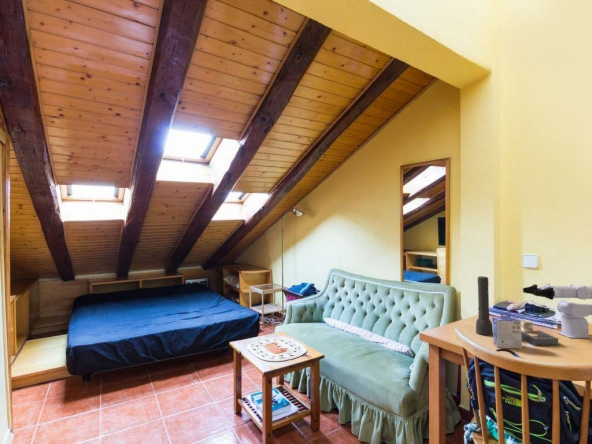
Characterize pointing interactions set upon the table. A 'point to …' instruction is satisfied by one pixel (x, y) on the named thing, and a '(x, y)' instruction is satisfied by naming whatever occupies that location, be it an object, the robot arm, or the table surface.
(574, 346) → the table surface
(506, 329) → the ink cartridge box
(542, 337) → the cradle
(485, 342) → the table surface
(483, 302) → the flashlight
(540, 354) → the table surface
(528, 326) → the birch block
